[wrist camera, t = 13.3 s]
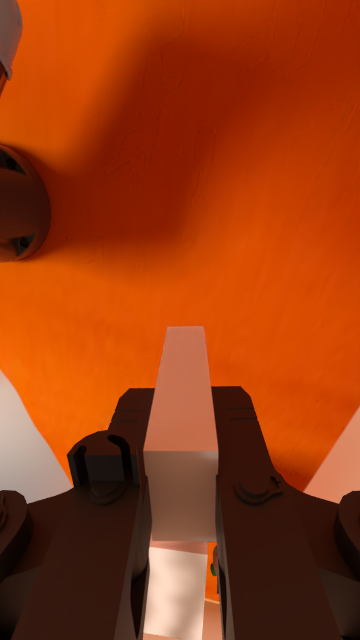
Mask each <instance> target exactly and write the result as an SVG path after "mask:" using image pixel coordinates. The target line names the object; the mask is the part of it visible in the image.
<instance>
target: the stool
mask: <svg viewBox="0 0 360 640" xmlns="http://www.w3.org/2000/svg"><path fill="white" fill-rule="evenodd" d="M207 554H208V542H195V541H152V532H151V538H150V547H149V562H150V576H149V585H148V595H147V604H146V613H145V622H144V631H143V633H149V634H155V635H161V636H166V637H172V638H178V639H184V640H202V627H203V612H204V598H205V584H206V569H207Z"/></svg>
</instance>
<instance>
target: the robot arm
mask: <svg viewBox="0 0 360 640" xmlns="http://www.w3.org/2000/svg"><path fill="white" fill-rule="evenodd" d="M22 30H23V24H22V16H21V12H20V9H19V6H18V3H17V1H16V0H0V97H1V94H2V92H3V89H4V87H5V84H6V82H7V80H10V79H11V76H12V70H11V66H12V63H13V60H14V57H15V54H16V51H17V48H18V45H19V42H20V38H21V35H22ZM49 225H50V204H49V199H48V195H47V192H46V189H45V187H44V184H43V182H42V180H41V178H40V177H39V175H38V174H37V172H36V171H35V169H34V168H33V167H32V166H31V164H30V163H29V162H28V161H27V160H26V159H25V158H24V157H22V156H21V155H20V154H19V153H17V152H16V151H14V150H12V149H10V148H8V147H6V146H4V145H1V144H0V262H10V261H15V260H19V259H23V258H26V257H28V256H30V255H31V254H33V253H34V252H35V251H36V250H37V249H38V248H39V247H40V246H41V245H42V243H43V242H44V240H45V238H46V235H47V233H48V229H49ZM67 458H68V462H69V467H70V471H71V476H72V480H73V485H74V487H73V488H72V489H70V490H69V491H67V492H64V493H62V494H59V495H56V496H53V497H49V498H46V499H43V500H39V501H36V502H33V503H29V504H27V503H26V500H25V498H24V496H23V495H21V494H20V493H18V492H17V491H10V490H2V491H0V640H143V631H144V622H145V613H146V604H147V595H148V585H149V576H150V562H149V547H150V538H151V532H152V541H195V542H217V550H218V577H217V594H219V598H220V611H221V624H222V639H223V640H360V491H352V492H350V493H348V494H346V495H344V496H343V497H342V499H341V501H340V503H339V504H337V503H334V502H331V501H327V500H324V499H320V498H317V497H313V496H310V495H308V494H305V493H303V492H300V491H298V490H297V489H295V488H293V487H292V486H290V485H289V484H288V483H287V482H285V480H284V479H283V477H282V476H281V475H280V474H279V473H278V472H277V471H276V470H275V469H274V467H273V464H272V462H271V459H270V456H269V453H268V450H267V447H266V444H265V441H264V437H263V434H262V431H261V428H260V425H259V422H258V421H257V416H256V413H255V411H254V406H253V403H252V400H251V397H250V396H249V395H248V394H247V392H246V391H245V390H244V389H243V388H242V387H241V386H221V387H211V383H210V375H209V366H208V358H207V349H206V341H205V332H204V326H168V327H167V331H166V336H165V341H164V346H163V352H162V357H161V362H160V367H159V372H158V377H157V382H156V388H130V389H129V390H127V391H126V392H125V393H124V394H123V395H122V396H121V397H120V398H119V401H118V404H117V406H116V409H115V413H114V414H113V417H112V420H111V423H110V425H109V428H108V430H105V431H98V432H96V433H93V434H91V435H88V436H86V437H84V438H83V439H82V440H80V441H79V442H78V443H76V444H75V445H74V446H73V447H72V449H71V450H70V451H69V453H68V454H67Z"/></svg>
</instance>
